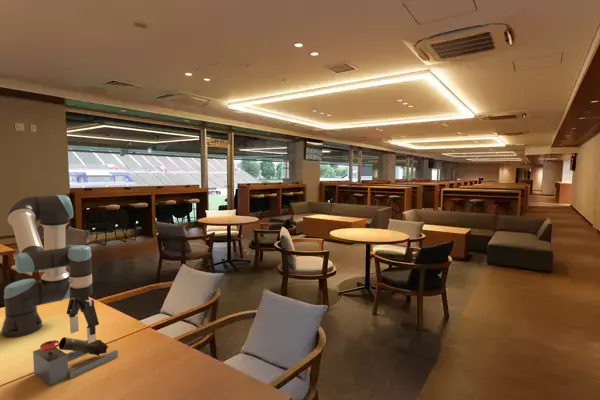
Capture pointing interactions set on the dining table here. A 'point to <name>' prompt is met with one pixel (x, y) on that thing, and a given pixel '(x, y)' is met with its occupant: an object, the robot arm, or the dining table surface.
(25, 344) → the dining table surface
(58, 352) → the cradle
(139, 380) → the dining table surface
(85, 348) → the morel mushroom
